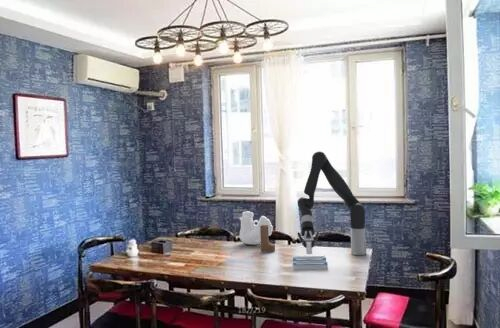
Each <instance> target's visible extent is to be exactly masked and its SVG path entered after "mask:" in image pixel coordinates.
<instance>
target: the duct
mask: <svg viewBox="0 0 500 328" xmlns="http://www.w3.org/2000/svg"><path fill="white" fill-rule="evenodd" d="M292 267H293V268H292V270H296V271H297V270H328V269H329V267H328V261H327V257H326V256H325V255H292Z"/></svg>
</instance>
